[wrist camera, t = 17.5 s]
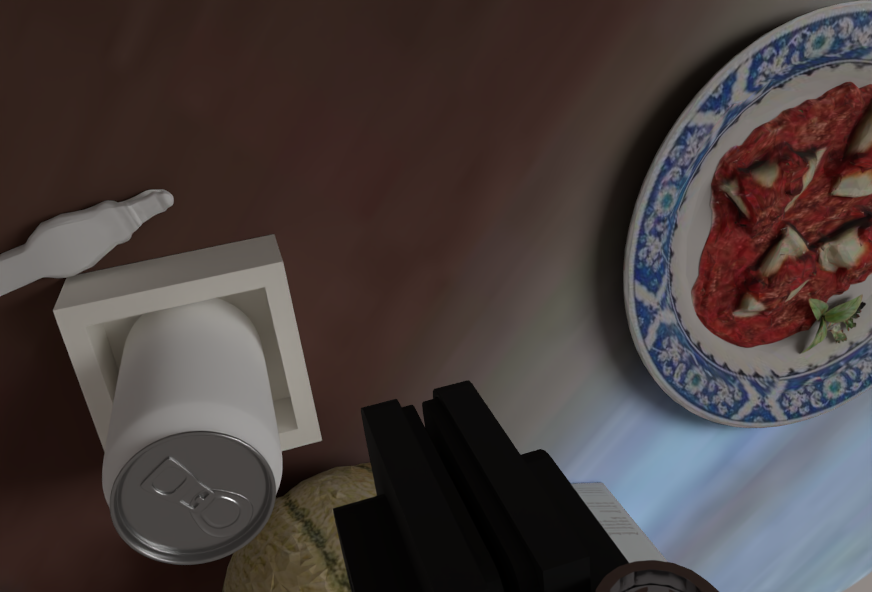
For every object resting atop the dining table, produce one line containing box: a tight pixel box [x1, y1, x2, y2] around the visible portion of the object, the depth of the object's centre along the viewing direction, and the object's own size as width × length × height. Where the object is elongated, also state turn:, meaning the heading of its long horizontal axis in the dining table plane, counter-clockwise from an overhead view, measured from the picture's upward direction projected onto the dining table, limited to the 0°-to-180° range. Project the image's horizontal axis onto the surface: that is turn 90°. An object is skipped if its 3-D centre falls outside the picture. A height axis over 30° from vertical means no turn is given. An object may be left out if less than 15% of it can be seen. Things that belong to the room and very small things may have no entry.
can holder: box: [53, 234, 322, 452], centre depth 37 cm, size 10×10×4 cm
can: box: [102, 298, 282, 565], centre depth 32 cm, size 6×6×12 cm
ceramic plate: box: [623, 1, 872, 428], centre depth 45 cm, size 26×26×3 cm
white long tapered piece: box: [0, 189, 174, 296], centre depth 34 cm, size 15×3×2 cm, turn 113°
